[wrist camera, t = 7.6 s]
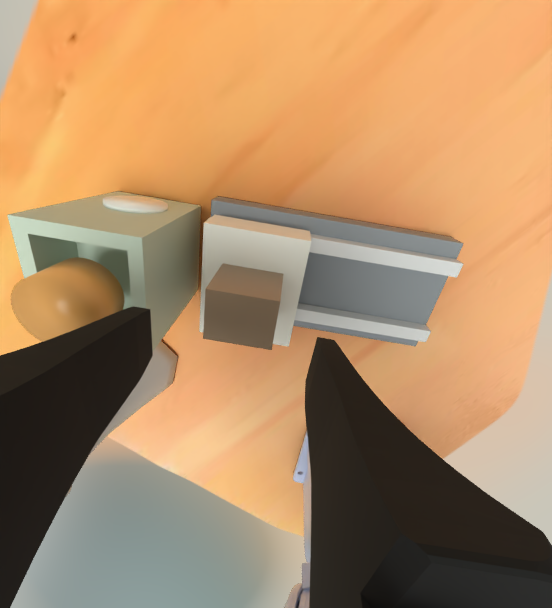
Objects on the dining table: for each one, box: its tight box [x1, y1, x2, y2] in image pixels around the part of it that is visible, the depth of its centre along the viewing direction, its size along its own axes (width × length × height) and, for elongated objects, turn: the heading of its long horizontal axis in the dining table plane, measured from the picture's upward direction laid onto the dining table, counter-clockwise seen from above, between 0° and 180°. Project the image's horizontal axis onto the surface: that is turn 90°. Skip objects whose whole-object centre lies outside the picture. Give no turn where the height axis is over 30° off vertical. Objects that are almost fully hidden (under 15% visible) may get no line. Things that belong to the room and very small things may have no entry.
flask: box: [66, 341, 178, 496], centre depth 19 cm, size 7×7×10 cm
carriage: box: [199, 215, 311, 350], centre depth 14 cm, size 6×5×5 cm
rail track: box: [207, 196, 463, 346], centre depth 18 cm, size 7×14×2 cm, turn 81°
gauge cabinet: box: [8, 191, 201, 351], centre depth 15 cm, size 6×5×8 cm
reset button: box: [11, 257, 125, 342], centre depth 11 cm, size 3×3×2 cm
